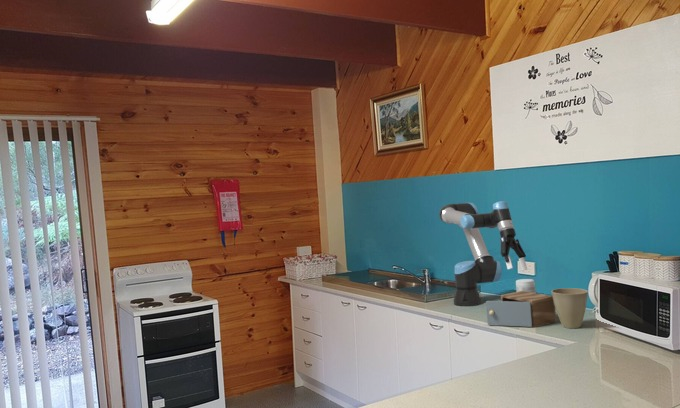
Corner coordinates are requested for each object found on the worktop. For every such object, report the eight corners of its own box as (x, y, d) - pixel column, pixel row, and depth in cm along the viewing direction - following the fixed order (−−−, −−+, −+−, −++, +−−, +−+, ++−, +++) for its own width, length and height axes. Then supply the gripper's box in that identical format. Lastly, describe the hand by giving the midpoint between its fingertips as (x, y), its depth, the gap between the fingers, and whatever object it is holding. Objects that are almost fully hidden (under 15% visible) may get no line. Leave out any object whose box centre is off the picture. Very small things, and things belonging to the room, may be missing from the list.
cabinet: (502, 319, 260) (500, 295, 260) (523, 314, 266) (522, 290, 266) (534, 327, 242) (532, 300, 242) (556, 321, 248) (554, 296, 248)
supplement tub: (540, 307, 279) (538, 279, 279) (531, 311, 273) (529, 282, 273) (523, 305, 286) (521, 278, 286) (514, 309, 280) (512, 281, 280)
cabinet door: (532, 326, 243) (530, 301, 242) (531, 327, 240) (529, 303, 240) (488, 324, 252) (486, 300, 252) (486, 325, 250) (485, 302, 249)
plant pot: (587, 331, 229) (584, 294, 228) (550, 329, 237) (548, 293, 236) (592, 323, 241) (590, 288, 241) (557, 321, 249) (555, 287, 249)
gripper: (499, 225, 268) (510, 265, 261) (525, 230, 285) (536, 268, 277) (487, 229, 273) (497, 270, 266) (513, 234, 290) (523, 272, 282)
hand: (517, 269), depth 271 cm, fingers open, 13 cm apart
